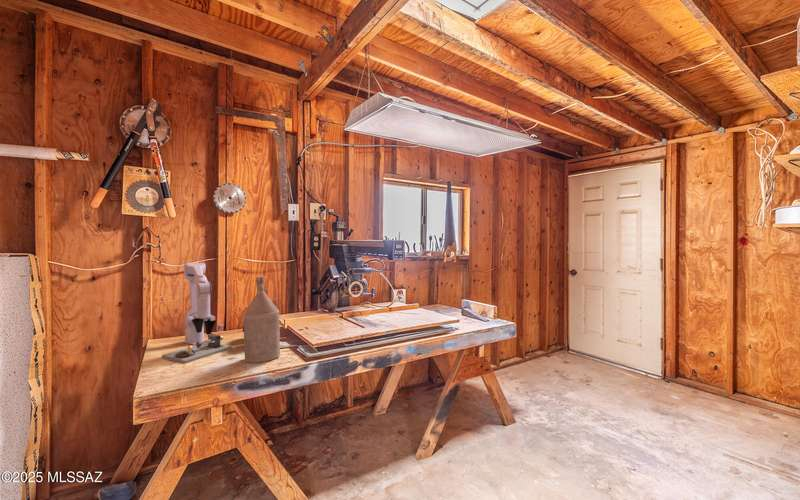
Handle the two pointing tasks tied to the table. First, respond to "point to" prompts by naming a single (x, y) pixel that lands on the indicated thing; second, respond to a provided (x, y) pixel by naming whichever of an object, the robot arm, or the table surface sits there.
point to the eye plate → (216, 341)
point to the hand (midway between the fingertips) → (204, 333)
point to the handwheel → (185, 352)
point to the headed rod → (206, 342)
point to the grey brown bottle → (261, 327)
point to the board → (196, 353)
